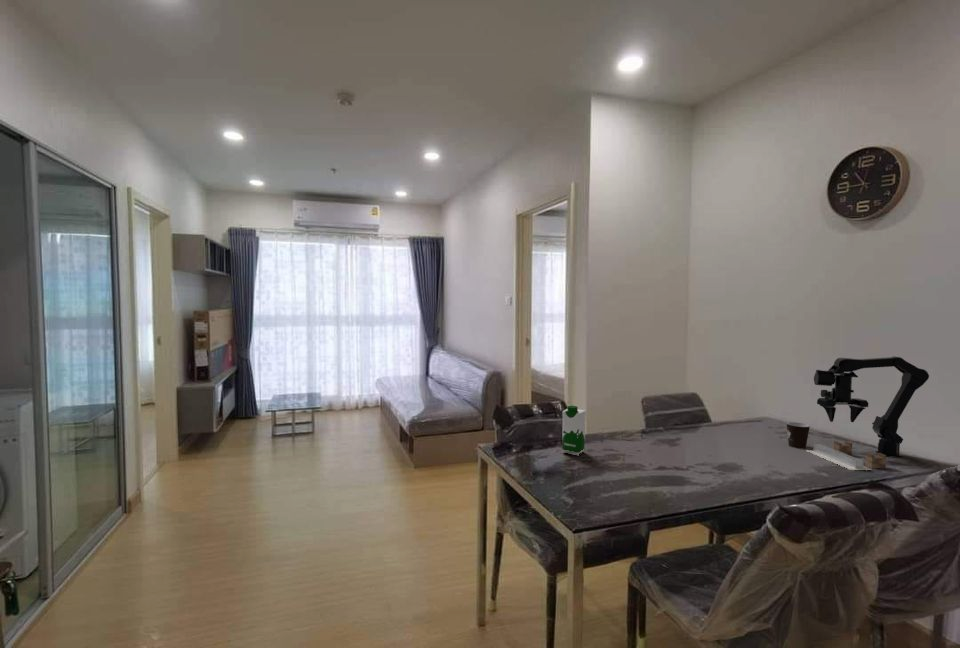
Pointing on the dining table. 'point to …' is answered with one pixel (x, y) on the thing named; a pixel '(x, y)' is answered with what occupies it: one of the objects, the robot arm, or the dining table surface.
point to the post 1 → (843, 447)
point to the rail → (838, 456)
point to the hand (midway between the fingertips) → (841, 421)
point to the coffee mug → (797, 434)
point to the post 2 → (875, 460)
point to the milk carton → (573, 429)
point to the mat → (836, 461)
